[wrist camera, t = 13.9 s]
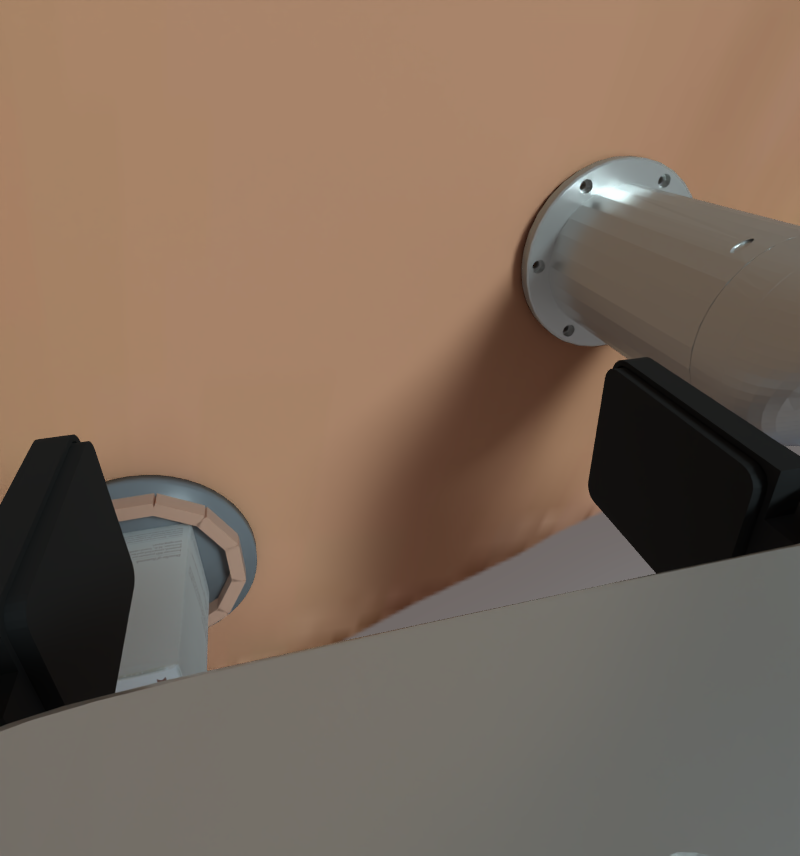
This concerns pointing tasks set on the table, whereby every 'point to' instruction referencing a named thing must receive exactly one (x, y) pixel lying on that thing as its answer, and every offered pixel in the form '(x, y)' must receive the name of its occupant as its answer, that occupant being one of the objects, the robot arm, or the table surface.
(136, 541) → the supplement box
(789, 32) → the table surface
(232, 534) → the ring tray
